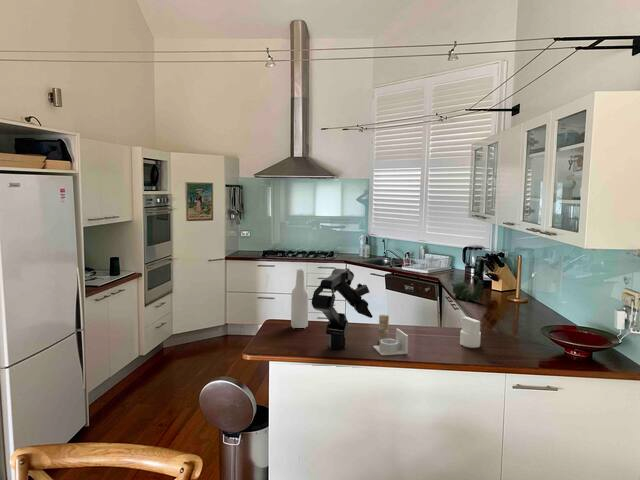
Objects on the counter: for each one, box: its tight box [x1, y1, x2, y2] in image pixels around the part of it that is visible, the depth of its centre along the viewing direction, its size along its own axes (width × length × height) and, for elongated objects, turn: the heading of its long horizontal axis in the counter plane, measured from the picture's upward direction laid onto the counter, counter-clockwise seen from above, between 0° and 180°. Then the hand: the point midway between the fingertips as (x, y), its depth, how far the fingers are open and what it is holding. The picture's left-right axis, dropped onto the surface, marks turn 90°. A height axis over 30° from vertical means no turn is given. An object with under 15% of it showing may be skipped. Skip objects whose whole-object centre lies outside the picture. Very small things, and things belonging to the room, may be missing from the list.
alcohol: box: [290, 268, 310, 329], centre depth 233 cm, size 9×9×30 cm
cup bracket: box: [372, 328, 409, 356], centre depth 200 cm, size 12×11×8 cm
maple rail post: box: [378, 314, 390, 343], centre depth 212 cm, size 4×4×12 cm
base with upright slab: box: [459, 316, 482, 349], centre depth 210 cm, size 9×9×12 cm
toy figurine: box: [450, 275, 485, 302], centre depth 304 cm, size 9×19×25 cm
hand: (369, 314), depth 210 cm, fingers open, 9 cm apart
